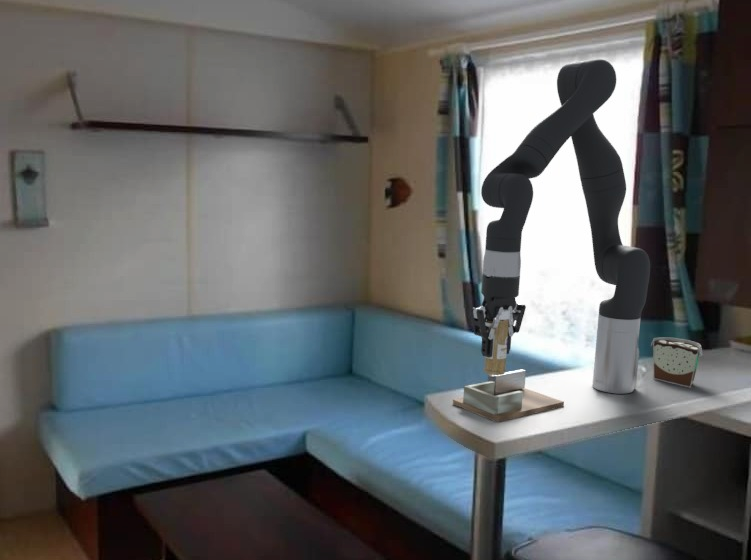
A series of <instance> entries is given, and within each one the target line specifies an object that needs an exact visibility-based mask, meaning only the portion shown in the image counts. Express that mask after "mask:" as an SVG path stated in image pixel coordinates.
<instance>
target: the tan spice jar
mask: <svg viewBox="0 0 751 560" xmlns="http://www.w3.org/2000/svg"><path fill="white" fill-rule="evenodd" d="M509 319H510V311H508V310H503V312H502V314H501V315H500V316H499V320H500V321H499V324H498V328H497V329H495V331H494V335H493V338H492V339H493V350H492V357H485V356H484V359H485V360H484V368H483V371H484V373H486V374H488V375H502V374H505V373H506V372H507V371H506V366H507V365H506V363H507V356H508V354H507V339H508V321H509ZM488 323H490V324H492V323H493V322H491V321H488ZM488 331H489V327H488V330H487V332H488Z"/></svg>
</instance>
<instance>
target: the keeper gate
mask: <svg viewBox="0 0 751 560" xmlns="http://www.w3.org/2000/svg"><path fill="white" fill-rule="evenodd" d="M526 372H527V370H525V369H516V370H511V371H506V373H505V374H502V375H491V374H488V375H487V380H486V382H489V381H493V382H495V387H494V395H495V394H498V393H502V392H507V391H512V390H517V389H522V388H526V387H525V386H526V375H527V373H526Z"/></svg>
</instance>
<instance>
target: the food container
mask: <svg viewBox="0 0 751 560" xmlns="http://www.w3.org/2000/svg"><path fill="white" fill-rule="evenodd" d="M650 347H652V354H653V355H652V357H653V358H652V361H653V362H652V364H653V365H652V368H653V369H652V372H653V373H652V374H653V377H652V379H653V380H656V381H661V382H665V383H668V384H669V383H670V384H674V385H677V386H681V387H684V388H689V389H691V388H693V385H694V381H695V376H696V373H697V368H698V364H699V358H700V357H702V356H703V348H702V345H701V343H699V342H696V341H692V340H689V339H685V338H678V337H668V336H667V337H666V336H665V337H664V336H663V337H660V336H659V337H654V338H653V340H652V341H651V344H650Z"/></svg>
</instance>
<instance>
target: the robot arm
mask: <svg viewBox="0 0 751 560" xmlns="http://www.w3.org/2000/svg"><path fill="white" fill-rule="evenodd" d="M557 74H558V75H557V77H556V88H557V89H556V90H557V95H558V99H559V101H560V102H559V103H560V105H561V106H560V107H558V108H557V109H556V110H555V111H554V112H553V113H551V114H550V115H548V116H547V117H546V118H544V119H542V120H541V121H540V122H539V123H538V124H536V125H535V126H534V127H533V128H532V129H531V130H530V131H529V132H528V134H527V135H526V136H525V138H524V139H522V141H521V142H520V143H519V145H518V147H517V148H516V149H515V151H514V152H513V153H511V155H509V156H508V157H506V158H505V159H503V160H502V161H501V162H500V163H499V164H498V165H496V166H495V167H494V168H493V169H491V171H490V172H489V173H488V174H487V175H486V177H485V178H484V179H483V182H482V185H481V189H480V192H481V193H480V194H481V199H482V200H483V202H484V203H485V204H486V205H488V206H489V207H492V208H497V209H502V210H503V211H502V214H501V215H500V218H499V219H495V220H492V221H490V222H489V223H488V224H487V227H486V234H485V249H484V256H483V260H482V275H481V276H482V277H481V290H480V291H481V294H482V296H483V300H482V302H481V305H480V306H478V307H472V308H471V309H470V315H471V317H470V318H471V321H472V322H471V323H472V328H473V334H474V335H475V336H477V337H480V338H481V345H480V346H481V348H480V349H481V350H480V351H481V356H483V357H484V358H485V357H492V350H493V339H492V338H493V335H494V331H495V329H497V328H498V324H499V321H500V320H499V316H500V315H501V314H502V312H503V310H508V311H510V319H509V321H508V339H507V355H509V354H510V351H511V346H512V345H511V344H512V337H513V336H514V334H516V333H517V334H518V333H519V332H520V330H521V327H522V326H521V325H522V322H523V319H524V316H525V312H526V307H527V306H526V305H525V304H523V303H518V302H517V301H516V298H517V297H519V294H520V282H521V281H520V279H521V267H522V266H521V264H522V263H521V262H522V257H521V250H522V249H521V247H522V233H523V229H524V226H525V224H526V222H527V218H528V214H529V212H530V209H531V206H532V203H533V198H534V188H533V184H532V181H531V179H535V178H537V177H539V176H541V174H543V172H544V171H545V169H546V168H548V166H549V164H550V163H551V161H552V160H553V159H554V157H555V156H556V155H557V154H558V152H559V151H560V150H561V148H562V147H563V146H564V145H565V143H566V142H567V141H568V140H569V138H571V141H572V146H573V149H574V154H575V159H576V162H577V167H578V172H579V173H578V175H579V179H580V183H581V187H582V192H583V195H584V199H585V204H586V210H587V215H588V221H589V227H590V232H591V233H590V234H591V242H592V252H593V260H594V267H595V271H596V274H597V276H598V278H599V279H601V281H603V282H604V283H607V284H609V285H613V286H615V289H614V294H613V296H612V297H611V298H609V299H604V300H602V301H601V302H600V303H599V305H598V306H599V307H598V318H597V319H598V320H597V329H596V340H595V341H596V343H595V353H594V363H593V376H592V378H593V379H592V387H593V388H594V389H595V390H597V391H601V392H605V393H609V394H621V395H623V394H630V393H632V392H634V390H635V389H636V388H637V379H638V369H639V359H640V349H639V338H640V326H641V318H642V311H643V310H644V307H645V305H646V301H647V296H648V287H649V283H650V275H651V262H650V256H649V254H648V253H647V252H646V251H645V250H643V249H642V248H639V247H634V246H629V245H628V246H627V245H624V244H623V243H622V239H621V235H620V229H619V216H620V212H621V209H622V208H623V205H624V201H625V198H626V192H627V183H626V182H627V181H626V178H625V171H624V165H623V162H622V158H621V157H620V154H619V153H618V151H617V150H616V149H615V147H614V146H613V144H612V143H611V142H610V141H609V139H608V138H607V137H606V135H604V133H603V132H602V131H601V129H600V127H599V126H598V123H597V121H596V118H595V117H594V114H595V112H598V110H599V109H600V108H601V107H602V106H604V104H605V103H606V102H608V100H609V99H610V98H611V97H612V95H613V94H614V91H615V90H616V86H617V73H616V70H615V68H614V66H613V65H612V64H611V63H610V61H608V60H606V59H600V58H597V59H595V58H593V59H587V60H582V61H575V62H571V63H570V62H569V63H566V64H564V65H563V66H562V67H561V68H560V69H559V71H558V73H557ZM488 321H491V322H493V323H492V324H490V323H488ZM514 324H515V325H514ZM488 327H489V331H488V332H487V330H488Z"/></svg>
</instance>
